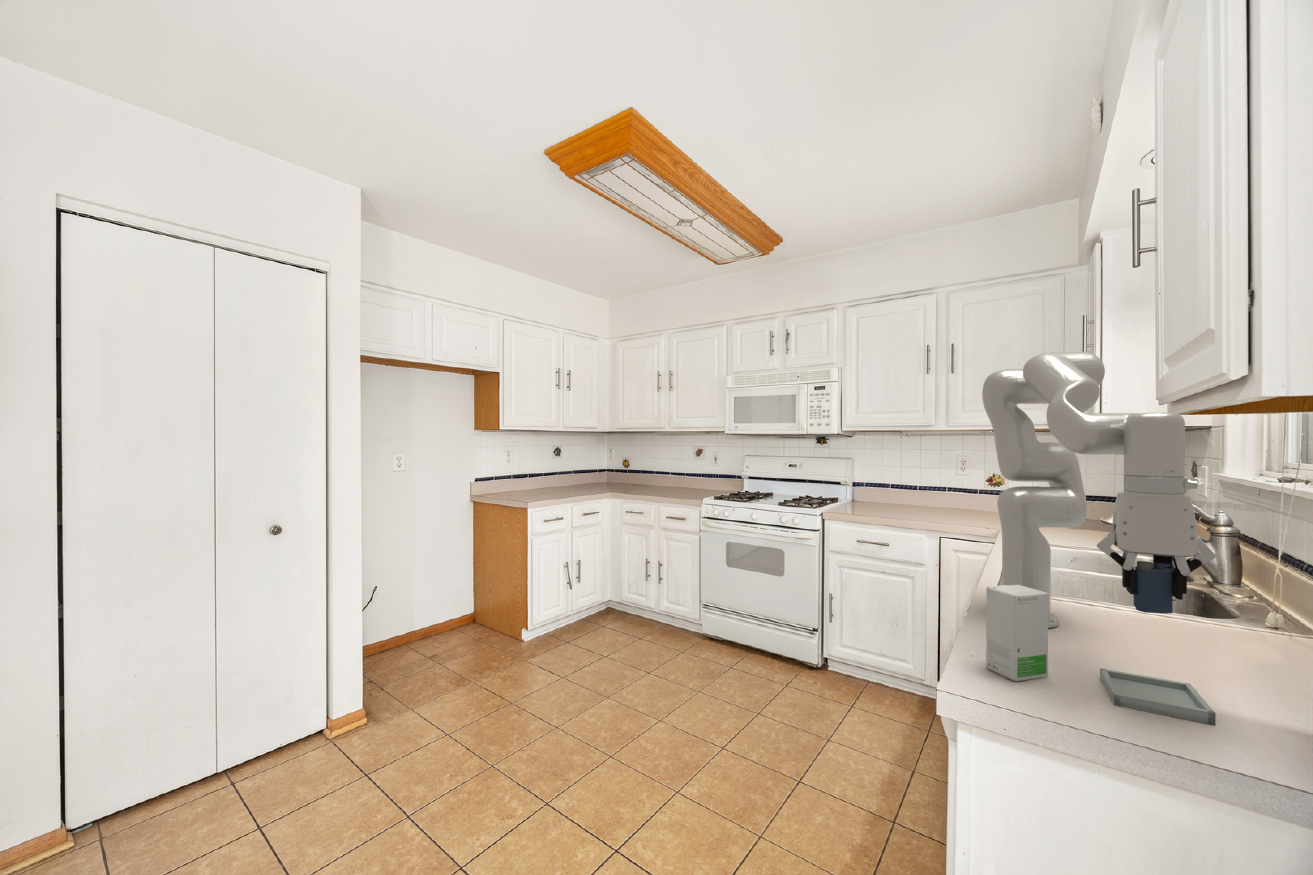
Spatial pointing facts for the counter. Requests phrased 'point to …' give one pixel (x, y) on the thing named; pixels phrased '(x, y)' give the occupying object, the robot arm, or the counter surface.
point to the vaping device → (1154, 585)
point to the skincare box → (1017, 632)
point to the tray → (1156, 696)
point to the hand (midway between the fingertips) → (1153, 593)
